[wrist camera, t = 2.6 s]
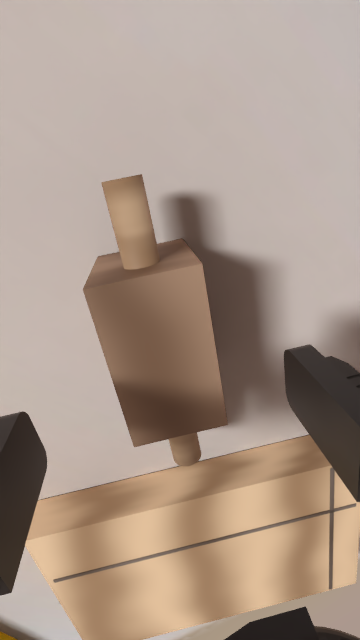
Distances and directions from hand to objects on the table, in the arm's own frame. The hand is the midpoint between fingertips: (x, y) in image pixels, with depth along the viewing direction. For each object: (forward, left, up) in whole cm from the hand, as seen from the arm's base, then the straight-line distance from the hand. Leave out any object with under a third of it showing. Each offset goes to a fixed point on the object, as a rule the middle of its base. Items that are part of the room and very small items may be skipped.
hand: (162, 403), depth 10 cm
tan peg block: (0, 0, -7) cm, 7 cm away
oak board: (0, +17, -7) cm, 18 cm away
